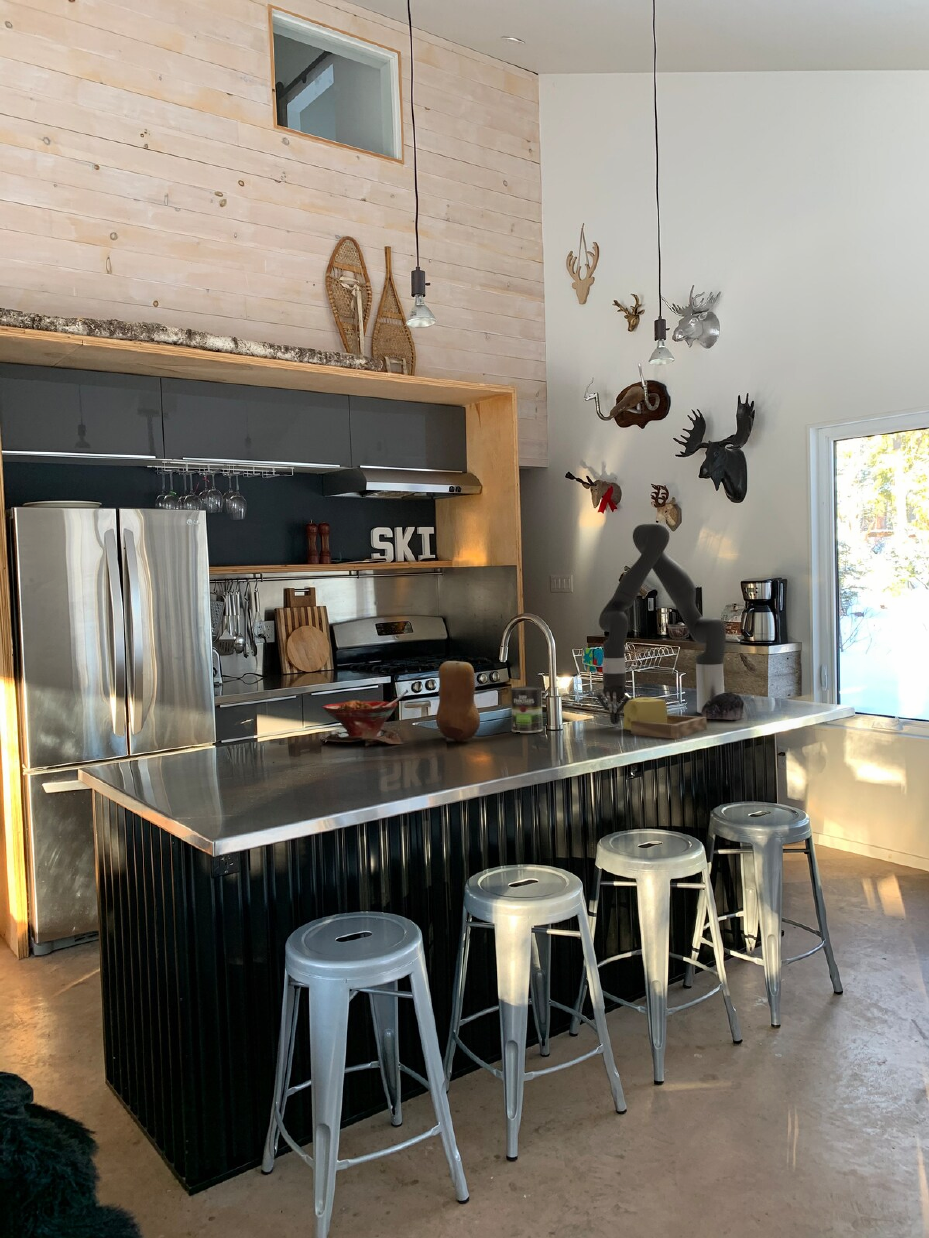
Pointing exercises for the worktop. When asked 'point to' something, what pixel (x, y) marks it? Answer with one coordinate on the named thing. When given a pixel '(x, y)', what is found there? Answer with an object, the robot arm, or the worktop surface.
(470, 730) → the butternut squash
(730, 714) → the dark brown rock
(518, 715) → the coffee can
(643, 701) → the cheese
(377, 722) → the stew
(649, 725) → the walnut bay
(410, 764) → the worktop surface
